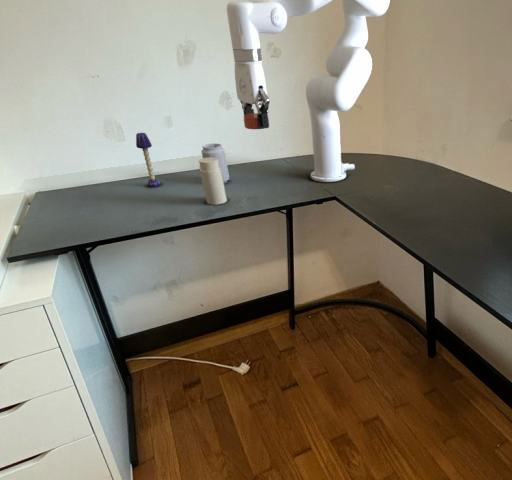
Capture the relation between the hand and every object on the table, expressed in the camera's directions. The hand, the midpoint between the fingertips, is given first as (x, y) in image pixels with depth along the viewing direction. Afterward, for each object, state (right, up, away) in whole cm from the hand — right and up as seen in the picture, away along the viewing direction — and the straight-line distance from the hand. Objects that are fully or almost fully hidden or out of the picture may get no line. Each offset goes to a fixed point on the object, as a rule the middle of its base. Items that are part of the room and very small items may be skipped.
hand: (257, 125), depth 139 cm
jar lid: (0, +2, -1) cm, 2 cm away
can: (-19, -9, +24) cm, 32 cm away
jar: (-15, -20, +8) cm, 26 cm away
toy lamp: (-40, -11, +21) cm, 46 cm away
